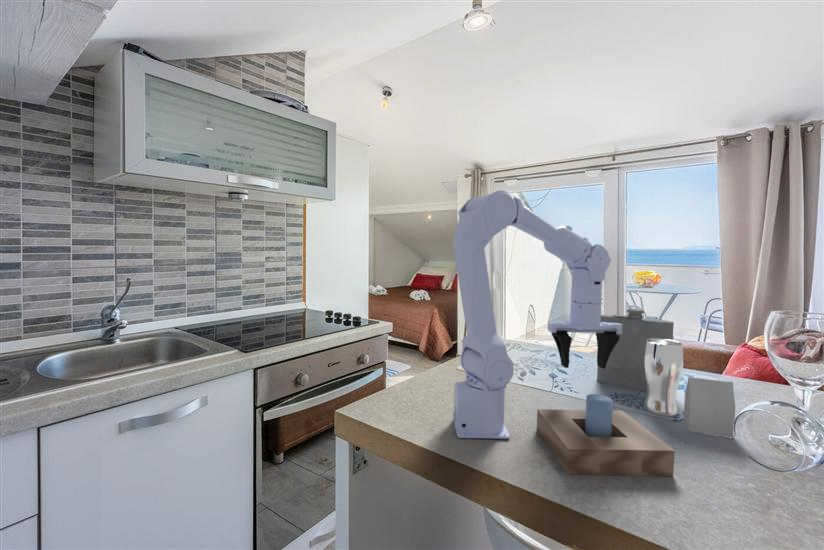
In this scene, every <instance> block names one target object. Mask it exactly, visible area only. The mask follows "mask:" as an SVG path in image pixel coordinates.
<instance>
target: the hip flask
mask: <svg viewBox="0 0 824 550" xmlns="http://www.w3.org/2000/svg"><path fill="white" fill-rule="evenodd" d="M626 312H627V313H628V314H627V315H625V314H624V315H621V314H612V315H611V314H610V315H609V314H601V320H600V322H607V323H619V324H622V334H616V335H619V336H620V337H619V341H618V343H617V344H616V345H615V347H614V348H613V350H612V352H611V354H610V356H609V358H608V361H607V364H606V368H601V367H599V366H598V365H597V368H596V369H597V373H596V376H597V377H596V381H597V382H600V383H601V384H605V385H606V384H607V385H611V386H615V387H620V388H625V389H628V390H635V391H640V392H645V393H647V386H646V379H645V372H644V351H645V345H646V339H650V338H658V339H667V340H673V341H674V339H673V338H674V325H675V324H674V323H675V322H674V321H670V320H663V319H650V318H643V315H644V312H645V310H644V309H640V308H626Z"/></svg>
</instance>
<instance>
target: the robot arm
mask: <svg viewBox="0 0 824 550" xmlns="http://www.w3.org/2000/svg"><path fill="white" fill-rule="evenodd" d="M508 227H514V228H516V229H518V230H520V231H522V232H524V233H526V234H528V235H529V236H532V237H534V238H535V239H538V240H539V241H541V242H543V247H544V249H545V251H547V252H548V253H550V254H552V255H553V256H554V257H557V258H558V259H560V260H561V261H563V262H565V264H566V266H567V268H568V269H569V270H570V271H571V289H570V290H571V293H570V314H569V316H570V317H569V320H566V321H565V320H563V321H562V320H561V321H548V323H547V327H548V329H547V331H548V332H549V333H551V336H552V338H553V340H554V343H555V344H556V347H557V350H558V354H559V359H560V364H561V366H562V367H563V368H565V369H568V368H569V366H570V349H571V344H572V340H573V337H572V336H571V335H570V333H593V334H595V335H596V336H595V337H596V346H597V351H596V352H597V353H596V364H597V367H598V366H599V367H601V368H606V364H607V361H608V358H609V356H610V354H611V352H612V350H613V348H614V347H615V345H616V344H617V343H618V341H619V337H620V336H619V335H616V334H622V324H619V323H607V322H600V320H601V315H602V297H603V296H602V294H603V292H602V291H603V281H605V279H606V272H607V270H608V269H609V267H610V264H611V261H612V258H611V257H610V255H609V252H608V250H607V249H606V248H605V247H604V246H603V245H601V244H593V243H591V242H589V239H588V238H587V237H582V236H580V235H579V234H577V233H575V232H574V231H573V227H571V226H569V225H557V226H553V225H552V224H550V223H549V222H548V221H546V220H545V219H544V218H542V217H541V216H539V215H538V214H537V213H536V212H533V210H531V209H529V208H528V206H526V205H525V204H523V201H522V200H521V199H520V198H519V197H516V196H513V195H512V194H511V193H510V192H508V191H506V190H502V189H501V190H496V191H494V192H492V193H489V194H484V195H481V196H475V197H471V198H469V199H468V200H467V201H466V202H464V204H463V206H461V207H460V209H459V210H458V222H457V224H456V227H455V232H454V234H453V238H452V248H453V256H454V260H455V261H454V262H455V267H456V272H457V280H458V285H459V291H460V298H461V304H462V309H463V310H462V311H463V316H464V317H463V318H464V321H465V329H466V335H465V336H464V337H463V338H462V340H461V344H462V348H461V349H462V350H461V354H460V365H461V368H462V369H463V370H464V371H465V380H463V381H457V382H454V389H453V390H454V391H453V411H452V420H453V423H454V428H455V433H456V435H457V438H460V439H510V438H511V435H510V433H509V430H508V428H507V427H506V425H505V394H506V393H505V392H506V389H507V385H508V384H509V383H510V382H511V380H512V378H513V375H514V369H515V368H514V363H513V360H512V359H511V358H510V356H509V355H508V351H507V346H506V344H505V343H504V341H503V340H502V338H501V337H500V335H499V333H498V332H497V325H496V319H495V311H494V307H493V306H494V305H493V299H492V293H491V285H490V280H489V271H488V266H487V259H486V258H487V257H486V253H485V252H486V251H485V248H486V246H487V245H488V244H489V243H490V241H491V240H492V239H493V238H494V236H496V235H497V234H498V233H500V232H502V231H503V230H505V229H506V228H508Z"/></svg>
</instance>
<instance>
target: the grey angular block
mask: <svg viewBox="0 0 824 550" xmlns="http://www.w3.org/2000/svg"><path fill="white" fill-rule="evenodd" d="M734 392H735V391H734V382H733V381H727V380H718V379H709V378H705V377H704V378H702V377H693V376H688V378H687V383H686V388H685V393H684V403H683V404H684V405H683V406H684V407H683V420H682V421H683V422H682V423H683V425H684V426H685V428H686V430H687V431H688V432H690V431H691V433H696V432H697V433H698V434H702V433H703V435H708V434H711V435H710V436H714V435H719V436H718V437H720V436H726V437H727V436H728V437H733V438H734V436H735V435H733V424H734V425H735V422H734V421H736V420H735V418H736V401H735V399H736V398H735V393H734Z"/></svg>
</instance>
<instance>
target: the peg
mask: <svg viewBox="0 0 824 550" xmlns="http://www.w3.org/2000/svg"><path fill="white" fill-rule="evenodd" d="M585 401H586V402H585V404H586V405H585V410H586V422H585V434H586V435H587V436H588V437H611V434H612V412H613V411H614V410H613V409H614V408H613V407H614V400H613V398H611V397H609V396H606V395H602V394H597V393H596V394H595V393H593V394H592V393H591V394H587V395H586V400H585Z"/></svg>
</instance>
